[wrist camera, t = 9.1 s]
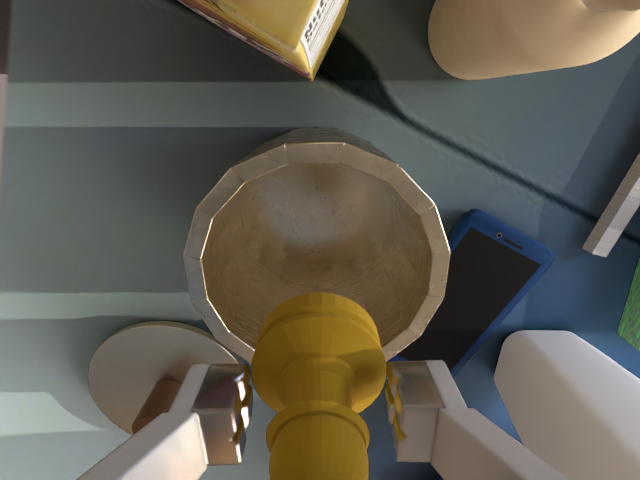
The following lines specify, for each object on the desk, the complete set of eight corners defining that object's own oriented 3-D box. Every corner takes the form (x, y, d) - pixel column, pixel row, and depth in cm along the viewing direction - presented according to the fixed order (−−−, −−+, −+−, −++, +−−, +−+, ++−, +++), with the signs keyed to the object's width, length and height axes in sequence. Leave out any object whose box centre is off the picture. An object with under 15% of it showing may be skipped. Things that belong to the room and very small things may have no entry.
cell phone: (363, 352, 27) (364, 359, 26) (470, 203, 22) (474, 206, 22) (438, 385, 28) (441, 392, 28) (553, 250, 24) (561, 254, 23)
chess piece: (393, 373, 11) (444, 554, 7) (285, 402, 12) (263, 592, 7) (358, 275, 10) (393, 422, 5) (238, 313, 11) (174, 477, 6)
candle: (534, 56, 19) (734, 14, 10) (440, 96, 20) (545, 91, 11) (517, -56, 17) (744, -235, 8) (414, -7, 18) (514, -120, 9)
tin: (220, 128, 21) (161, 145, 13) (410, 125, 21) (467, 140, 13) (240, 293, 25) (205, 380, 17) (396, 290, 25) (433, 377, 17)
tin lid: (77, 317, 26) (29, 360, 21) (244, 314, 26) (229, 357, 21) (117, 435, 31) (84, 491, 26) (258, 433, 31) (248, 488, 26)
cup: (494, 316, 26) (693, 558, 12) (588, 317, 26) (891, 558, 12) (476, 388, 29) (622, 652, 15) (561, 389, 29) (784, 652, 15)
